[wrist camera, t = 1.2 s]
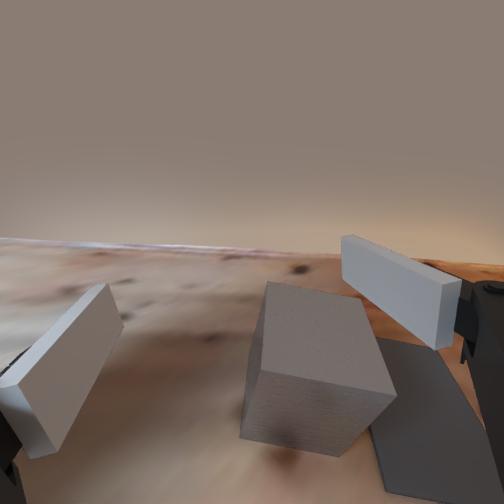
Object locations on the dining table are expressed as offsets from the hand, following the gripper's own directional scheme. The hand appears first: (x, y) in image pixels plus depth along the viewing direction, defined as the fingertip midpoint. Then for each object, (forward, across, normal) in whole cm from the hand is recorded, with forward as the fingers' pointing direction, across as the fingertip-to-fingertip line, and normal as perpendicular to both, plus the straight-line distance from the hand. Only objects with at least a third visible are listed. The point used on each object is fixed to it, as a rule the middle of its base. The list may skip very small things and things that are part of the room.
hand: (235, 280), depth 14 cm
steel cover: (+8, +4, -20) cm, 22 cm away
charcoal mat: (+7, +19, -24) cm, 32 cm away
